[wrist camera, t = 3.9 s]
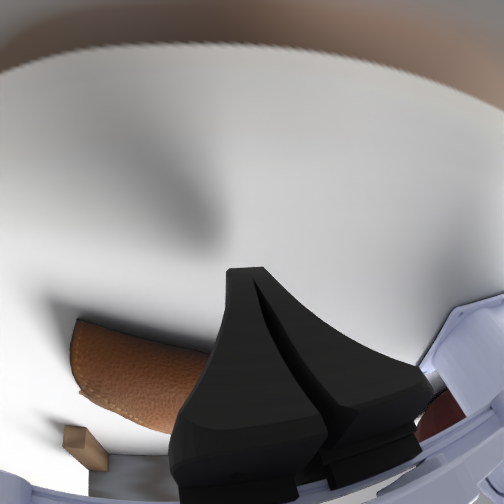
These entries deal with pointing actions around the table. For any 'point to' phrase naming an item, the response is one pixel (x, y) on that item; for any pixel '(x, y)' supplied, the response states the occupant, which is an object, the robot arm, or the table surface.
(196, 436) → the robot arm
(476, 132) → the table surface
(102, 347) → the sunglasses case
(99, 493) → the dock
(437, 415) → the potato
